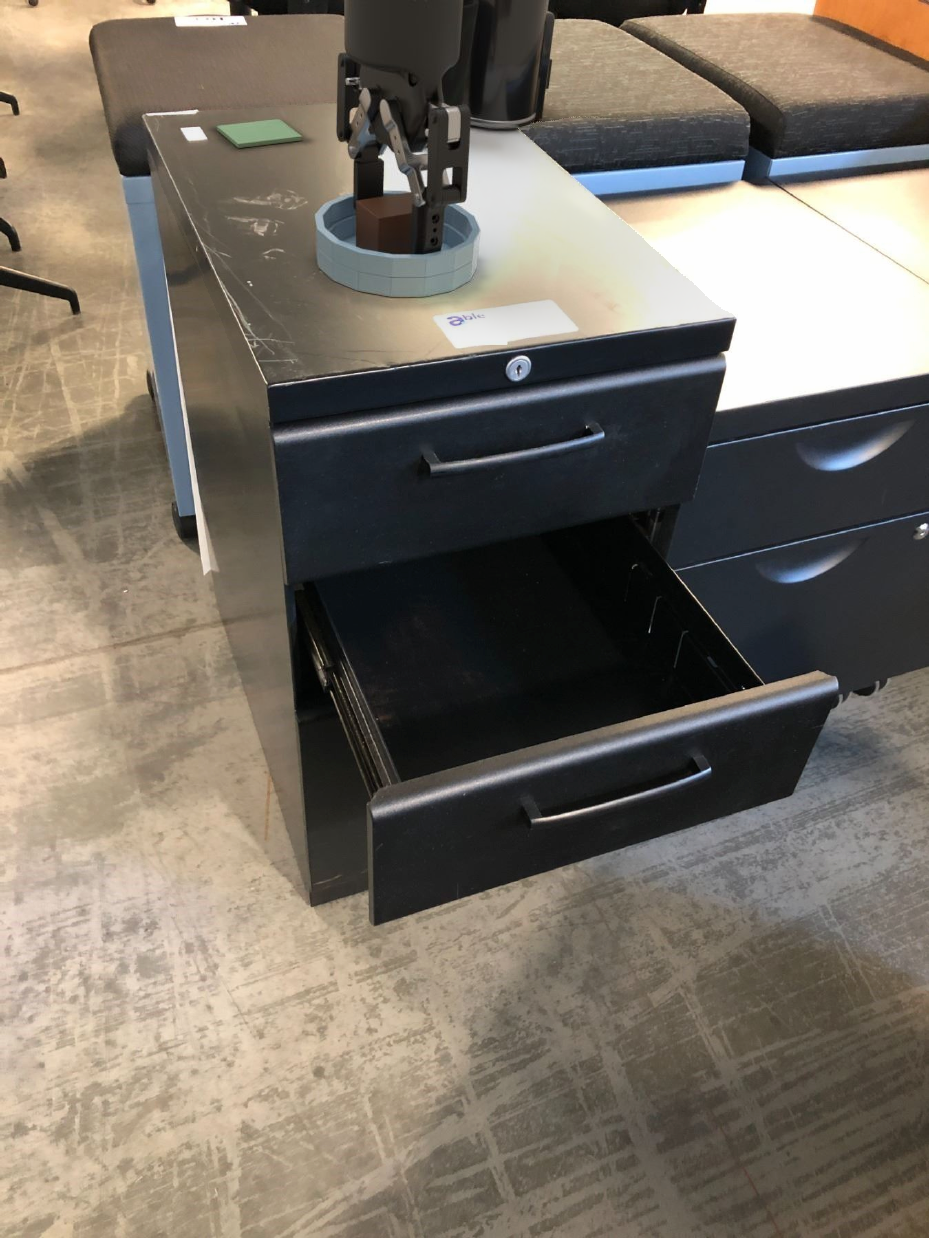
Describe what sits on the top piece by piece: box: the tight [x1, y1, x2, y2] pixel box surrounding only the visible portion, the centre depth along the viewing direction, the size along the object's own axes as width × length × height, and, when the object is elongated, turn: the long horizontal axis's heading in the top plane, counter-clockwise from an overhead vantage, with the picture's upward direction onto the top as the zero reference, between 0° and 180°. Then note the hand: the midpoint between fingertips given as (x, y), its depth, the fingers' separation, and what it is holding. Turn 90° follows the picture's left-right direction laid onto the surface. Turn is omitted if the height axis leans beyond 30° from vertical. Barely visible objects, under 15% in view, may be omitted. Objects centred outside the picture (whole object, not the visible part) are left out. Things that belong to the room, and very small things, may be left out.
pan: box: [314, 189, 481, 298], centre depth 72 cm, size 12×12×4 cm
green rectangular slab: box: [216, 118, 303, 149], centre depth 91 cm, size 6×5×1 cm
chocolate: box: [356, 191, 414, 254], centre depth 72 cm, size 5×3×4 cm, turn 123°
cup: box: [425, 0, 479, 149], centre depth 90 cm, size 8×8×12 cm
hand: (395, 233), depth 72 cm, fingers open, 8 cm apart
